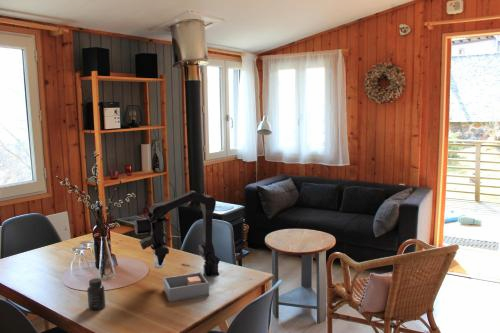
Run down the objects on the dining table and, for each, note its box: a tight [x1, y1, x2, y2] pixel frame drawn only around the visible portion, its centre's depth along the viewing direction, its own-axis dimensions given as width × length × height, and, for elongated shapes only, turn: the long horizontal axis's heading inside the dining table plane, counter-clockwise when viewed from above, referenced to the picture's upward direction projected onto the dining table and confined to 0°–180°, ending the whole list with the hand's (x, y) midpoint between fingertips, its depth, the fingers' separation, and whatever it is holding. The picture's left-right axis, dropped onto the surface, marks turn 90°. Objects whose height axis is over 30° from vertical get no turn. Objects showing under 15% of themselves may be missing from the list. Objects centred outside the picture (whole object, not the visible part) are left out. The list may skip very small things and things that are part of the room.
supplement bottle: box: [86, 277, 106, 312], centre depth 185 cm, size 7×7×12 cm
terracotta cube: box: [187, 276, 201, 285], centre depth 200 cm, size 5×5×5 cm
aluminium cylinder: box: [153, 251, 166, 269], centre depth 207 cm, size 5×5×7 cm
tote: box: [162, 271, 210, 303], centre depth 199 cm, size 18×14×6 cm
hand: (159, 263), depth 207 cm, fingers closed on aluminium cylinder, 5 cm apart
